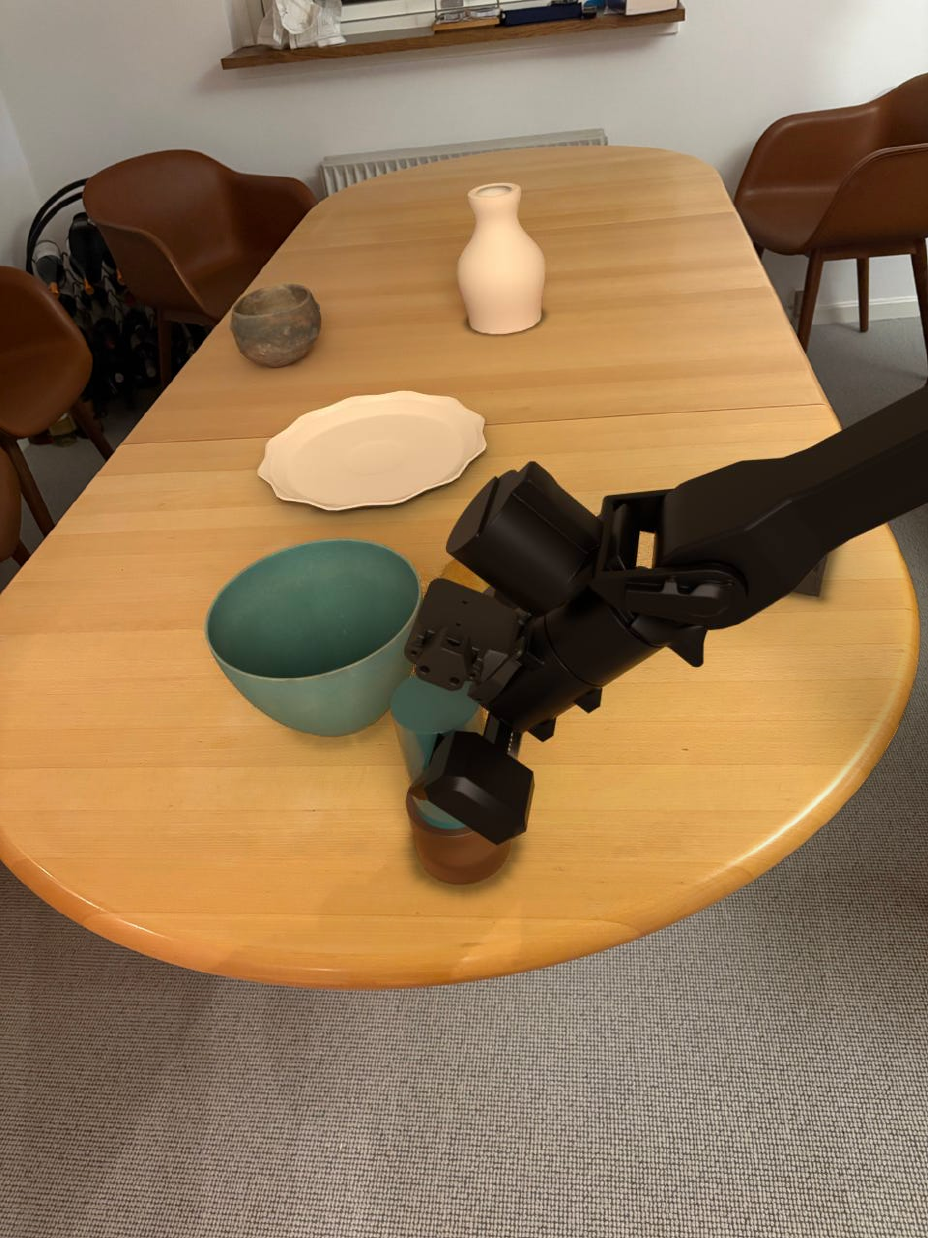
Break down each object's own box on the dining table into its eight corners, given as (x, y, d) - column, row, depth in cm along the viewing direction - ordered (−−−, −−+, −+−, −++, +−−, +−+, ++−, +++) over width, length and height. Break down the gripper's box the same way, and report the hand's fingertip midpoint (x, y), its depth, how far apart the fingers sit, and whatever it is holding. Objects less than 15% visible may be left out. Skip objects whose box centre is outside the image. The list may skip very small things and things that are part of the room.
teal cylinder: (508, 775, 65) (495, 678, 58) (474, 840, 61) (457, 743, 54) (435, 754, 67) (416, 659, 61) (399, 815, 63) (373, 720, 57)
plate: (532, 464, 109) (530, 447, 108) (318, 554, 100) (313, 537, 98) (419, 386, 130) (417, 371, 128) (233, 456, 120) (228, 440, 119)
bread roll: (435, 578, 94) (430, 547, 91) (517, 562, 94) (514, 531, 92) (446, 626, 88) (441, 595, 85) (534, 609, 88) (531, 577, 86)
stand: (524, 821, 69) (518, 771, 65) (487, 897, 64) (479, 849, 60) (442, 796, 72) (432, 747, 68) (401, 868, 67) (388, 819, 63)
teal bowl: (459, 752, 75) (439, 646, 67) (247, 804, 73) (201, 702, 65) (422, 621, 89) (402, 520, 81) (243, 662, 87) (205, 563, 79)
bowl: (332, 335, 149) (319, 275, 142) (324, 374, 137) (309, 311, 131) (251, 345, 150) (234, 286, 143) (236, 385, 138) (217, 323, 131)
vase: (449, 334, 143) (431, 204, 130) (481, 300, 153) (468, 176, 140) (531, 339, 138) (522, 204, 125) (559, 303, 148) (553, 174, 135)
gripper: (504, 474, 56) (372, 600, 66) (438, 679, 43) (283, 800, 52) (629, 575, 59) (485, 681, 69) (604, 796, 46) (430, 890, 55)
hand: (427, 751), depth 61 cm, fingers open, 7 cm apart
